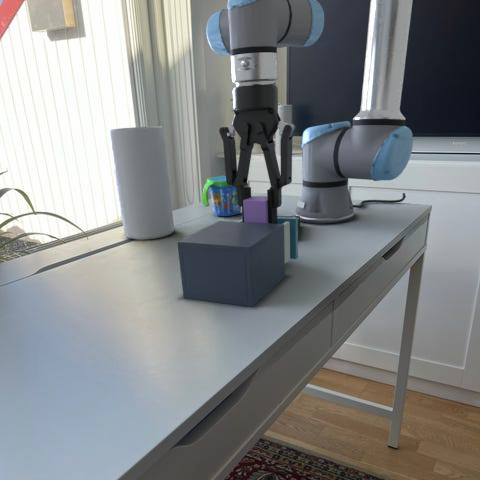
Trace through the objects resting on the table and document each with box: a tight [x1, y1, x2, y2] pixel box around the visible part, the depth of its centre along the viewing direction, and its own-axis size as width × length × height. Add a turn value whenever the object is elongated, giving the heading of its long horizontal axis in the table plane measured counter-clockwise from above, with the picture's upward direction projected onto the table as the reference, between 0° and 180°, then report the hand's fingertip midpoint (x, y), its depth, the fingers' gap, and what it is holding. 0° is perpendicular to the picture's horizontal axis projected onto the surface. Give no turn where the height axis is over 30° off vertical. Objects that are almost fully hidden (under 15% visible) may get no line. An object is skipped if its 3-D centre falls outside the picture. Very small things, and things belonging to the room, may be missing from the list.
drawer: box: [236, 215, 299, 264], centre depth 91 cm, size 19×11×8 cm, turn 155°
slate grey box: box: [176, 220, 286, 308], centre depth 81 cm, size 15×13×10 cm
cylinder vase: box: [107, 125, 175, 241], centre depth 116 cm, size 12×12×25 cm
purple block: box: [243, 195, 268, 223], centre depth 88 cm, size 4×4×5 cm
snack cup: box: [201, 175, 250, 217], centre depth 136 cm, size 16×10×10 cm
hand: (260, 224), depth 89 cm, fingers closed on purple block, 4 cm apart
